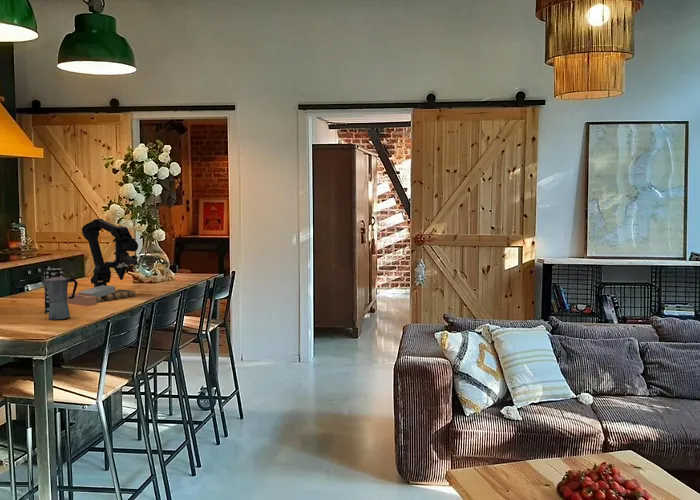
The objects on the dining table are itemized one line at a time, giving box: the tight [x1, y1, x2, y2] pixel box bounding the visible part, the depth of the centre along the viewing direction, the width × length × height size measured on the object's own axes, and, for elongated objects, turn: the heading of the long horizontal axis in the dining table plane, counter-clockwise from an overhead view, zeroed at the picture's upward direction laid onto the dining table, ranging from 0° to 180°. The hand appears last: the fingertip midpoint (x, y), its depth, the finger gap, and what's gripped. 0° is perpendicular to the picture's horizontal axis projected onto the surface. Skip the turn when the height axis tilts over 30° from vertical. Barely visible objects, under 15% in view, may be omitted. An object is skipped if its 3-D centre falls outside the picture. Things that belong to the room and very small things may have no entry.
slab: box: [77, 285, 117, 298], centre depth 338 cm, size 9×16×3 cm, turn 153°
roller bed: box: [100, 288, 136, 303], centre depth 343 cm, size 10×28×4 cm, turn 153°
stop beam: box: [67, 293, 98, 307], centre depth 328 cm, size 16×5×4 cm, turn 63°
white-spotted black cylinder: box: [43, 267, 65, 315], centre depth 303 cm, size 8×8×20 cm
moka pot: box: [41, 273, 79, 321], centre depth 289 cm, size 10×15×20 cm, turn 95°
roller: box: [96, 297, 102, 304], centre depth 335 cm, size 8×3×3 cm, turn 63°
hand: (121, 279), depth 351 cm, fingers closed
